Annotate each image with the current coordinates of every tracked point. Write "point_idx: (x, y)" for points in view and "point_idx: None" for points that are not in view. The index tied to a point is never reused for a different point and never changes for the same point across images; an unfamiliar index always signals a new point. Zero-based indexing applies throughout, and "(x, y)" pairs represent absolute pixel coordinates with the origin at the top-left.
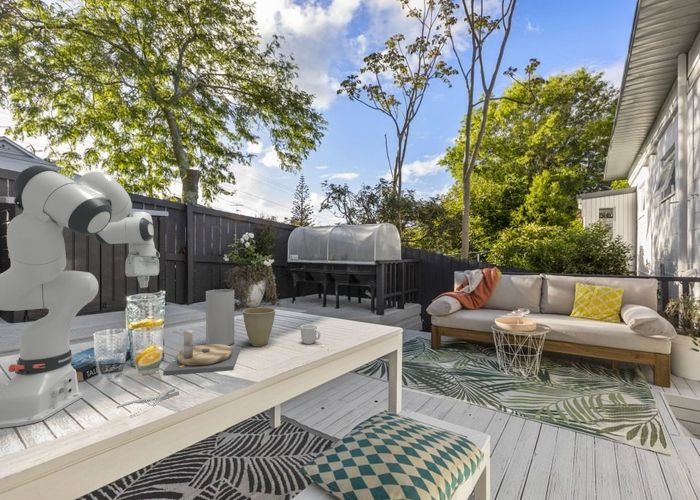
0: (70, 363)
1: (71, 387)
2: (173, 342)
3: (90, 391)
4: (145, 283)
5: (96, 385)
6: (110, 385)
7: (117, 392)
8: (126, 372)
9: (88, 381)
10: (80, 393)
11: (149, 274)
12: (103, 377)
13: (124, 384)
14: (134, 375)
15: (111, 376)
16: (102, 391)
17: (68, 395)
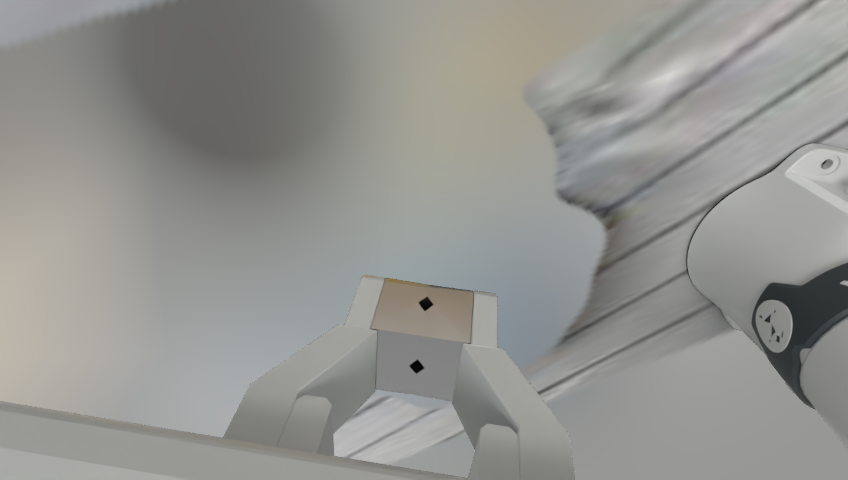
0: (845, 256)
1: (832, 192)
2: (65, 3)
3: (755, 141)
4: (455, 331)
5: (692, 146)
6: (722, 89)
7: (836, 22)
8: (569, 84)
9: (627, 194)
10: (813, 156)
11: (295, 466)
12: (601, 158)
13: (742, 29)
14: (630, 28)
15: (601, 130)
16: (783, 93)
17: (831, 184)
